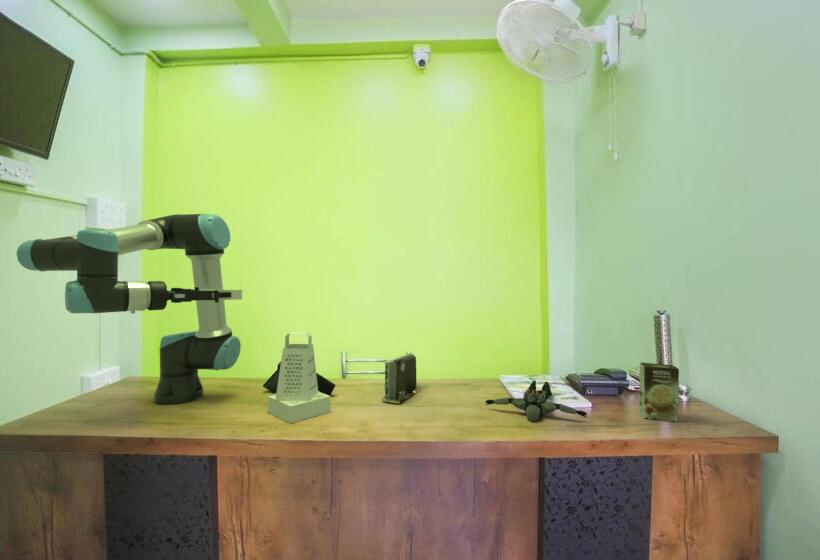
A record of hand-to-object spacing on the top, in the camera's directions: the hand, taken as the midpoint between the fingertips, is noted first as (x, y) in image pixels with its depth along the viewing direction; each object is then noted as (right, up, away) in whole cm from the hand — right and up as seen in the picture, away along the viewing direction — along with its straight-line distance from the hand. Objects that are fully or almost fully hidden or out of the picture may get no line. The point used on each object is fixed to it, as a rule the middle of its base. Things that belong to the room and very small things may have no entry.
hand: (232, 293), depth 113 cm
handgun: (+11, -38, +29) cm, 49 cm away
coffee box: (+129, -38, +5) cm, 135 cm away
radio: (+49, -38, +28) cm, 68 cm away
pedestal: (+17, -38, +9) cm, 43 cm away
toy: (+95, -39, +14) cm, 103 cm away
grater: (+17, -33, +10) cm, 38 cm away
